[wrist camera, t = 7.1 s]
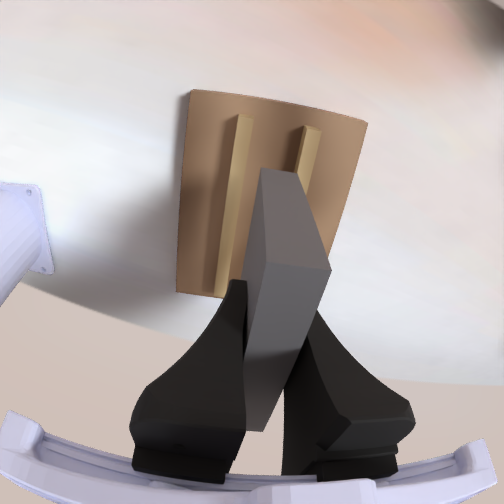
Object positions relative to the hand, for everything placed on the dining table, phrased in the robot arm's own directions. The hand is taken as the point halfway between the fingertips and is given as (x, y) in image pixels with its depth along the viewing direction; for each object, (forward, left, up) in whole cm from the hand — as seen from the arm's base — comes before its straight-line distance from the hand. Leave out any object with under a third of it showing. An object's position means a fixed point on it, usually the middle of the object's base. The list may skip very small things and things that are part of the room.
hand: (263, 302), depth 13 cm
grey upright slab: (0, 0, -3) cm, 3 cm away
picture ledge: (0, 0, -9) cm, 9 cm away
